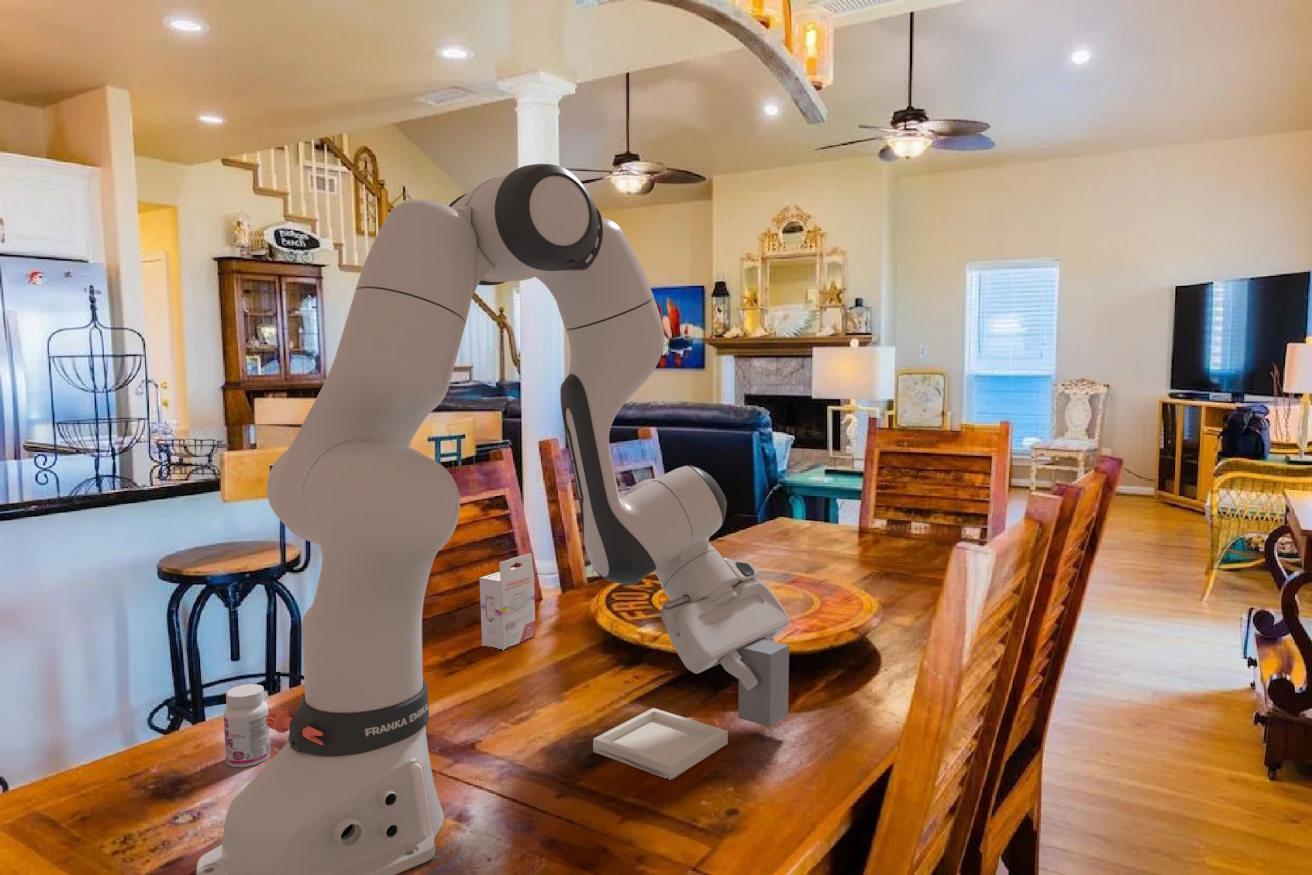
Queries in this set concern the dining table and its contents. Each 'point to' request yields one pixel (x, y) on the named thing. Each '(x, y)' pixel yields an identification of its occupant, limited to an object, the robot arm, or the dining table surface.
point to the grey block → (765, 683)
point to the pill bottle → (246, 726)
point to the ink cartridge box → (508, 604)
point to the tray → (660, 742)
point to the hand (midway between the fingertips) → (768, 679)
